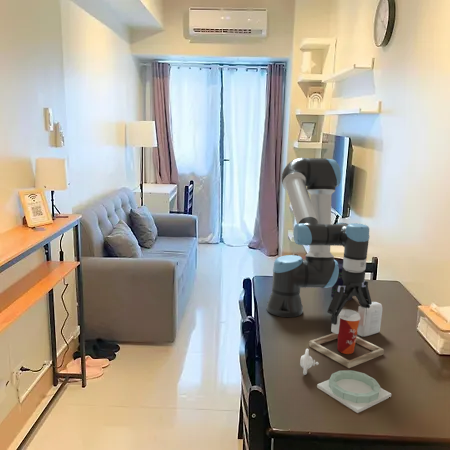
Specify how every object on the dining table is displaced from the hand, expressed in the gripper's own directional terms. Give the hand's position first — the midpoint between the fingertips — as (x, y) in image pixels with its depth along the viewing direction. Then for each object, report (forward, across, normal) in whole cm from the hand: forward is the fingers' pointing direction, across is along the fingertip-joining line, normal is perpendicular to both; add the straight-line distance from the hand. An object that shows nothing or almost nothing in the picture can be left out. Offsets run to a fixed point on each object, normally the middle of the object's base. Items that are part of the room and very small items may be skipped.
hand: (348, 328), depth 159 cm
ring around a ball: (+9, -23, -4) cm, 25 cm away
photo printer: (+8, +19, +5) cm, 22 cm away
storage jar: (+8, +41, +37) cm, 56 cm away
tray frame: (+8, 0, 0) cm, 8 cm away
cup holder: (+8, -19, -19) cm, 28 cm away
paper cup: (+8, 0, 0) cm, 9 cm away
